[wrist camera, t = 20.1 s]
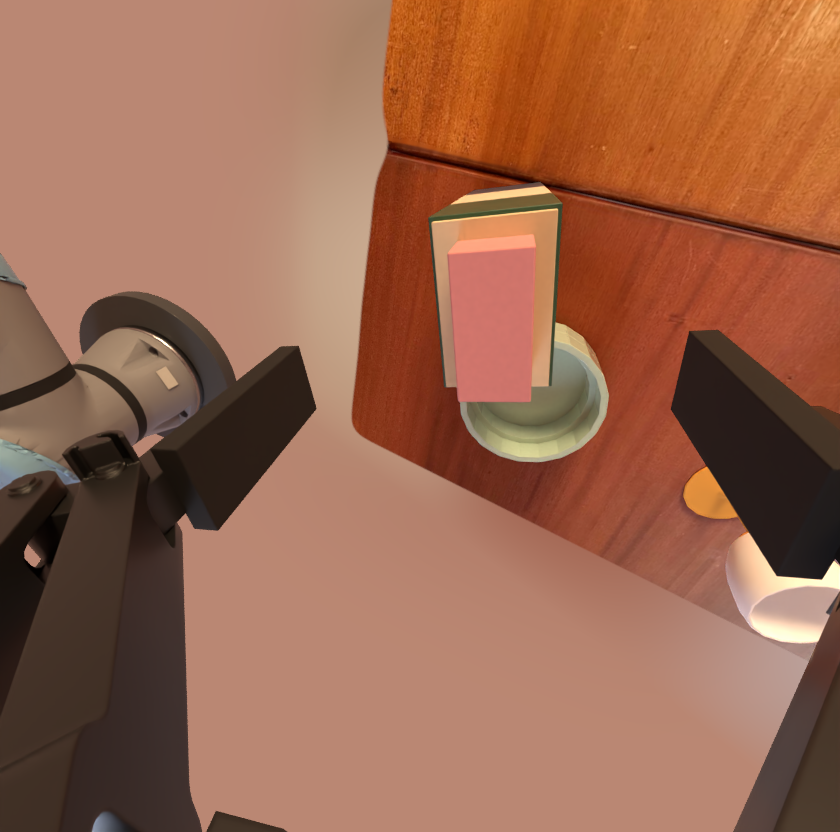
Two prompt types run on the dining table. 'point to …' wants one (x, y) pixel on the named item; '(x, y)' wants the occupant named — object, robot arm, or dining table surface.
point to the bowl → (546, 408)
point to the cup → (765, 576)
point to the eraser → (493, 317)
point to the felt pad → (545, 240)
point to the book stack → (496, 204)
